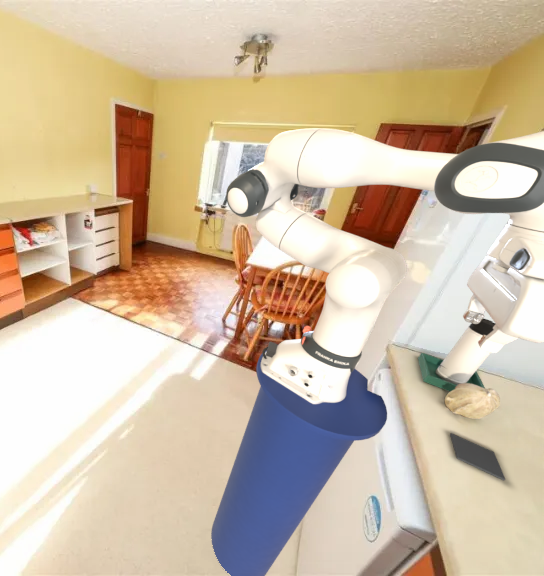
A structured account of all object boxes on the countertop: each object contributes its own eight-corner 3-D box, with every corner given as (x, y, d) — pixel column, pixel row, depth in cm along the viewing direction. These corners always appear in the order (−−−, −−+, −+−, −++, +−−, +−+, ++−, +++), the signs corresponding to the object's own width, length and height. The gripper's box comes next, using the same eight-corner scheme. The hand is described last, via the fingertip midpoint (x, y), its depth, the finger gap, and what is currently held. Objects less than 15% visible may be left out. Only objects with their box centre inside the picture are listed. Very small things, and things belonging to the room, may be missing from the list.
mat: (456, 458, 57) (458, 457, 57) (449, 434, 62) (450, 432, 62) (504, 480, 54) (505, 479, 53) (492, 453, 59) (493, 451, 58)
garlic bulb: (465, 414, 70) (502, 390, 66) (484, 437, 63) (526, 412, 59) (427, 390, 73) (460, 366, 69) (441, 409, 66) (479, 383, 61)
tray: (423, 381, 77) (427, 375, 76) (417, 358, 86) (421, 352, 85) (484, 405, 71) (490, 398, 70) (471, 377, 80) (476, 371, 79)
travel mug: (429, 372, 80) (470, 316, 71) (443, 368, 82) (484, 313, 73) (454, 388, 75) (502, 330, 65) (469, 384, 77) (517, 327, 67)
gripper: (485, 232, 45) (439, 302, 52) (538, 266, 30) (465, 358, 37) (541, 241, 42) (485, 314, 49) (631, 283, 27) (533, 381, 34)
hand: (477, 334), depth 43 cm, fingers open, 8 cm apart
